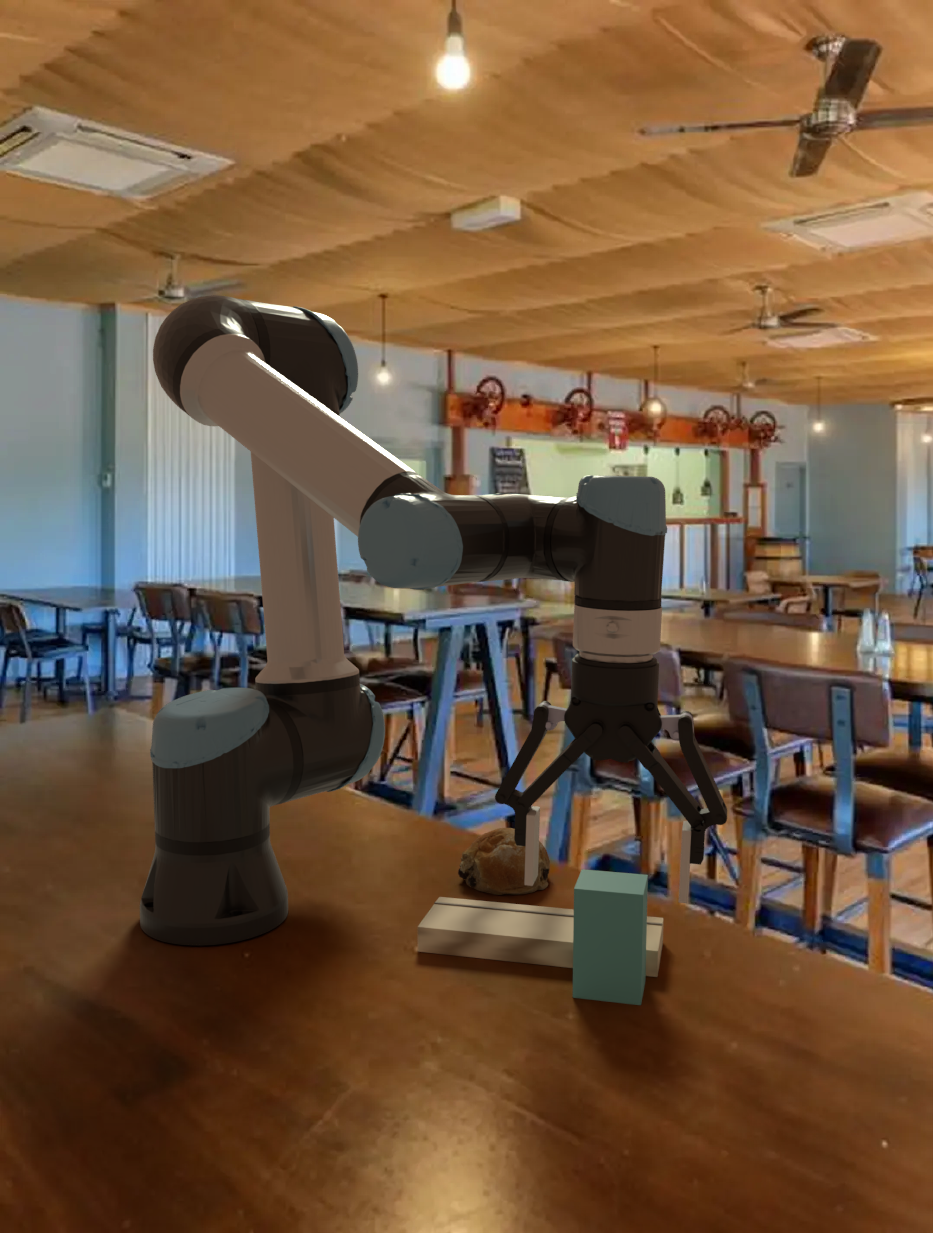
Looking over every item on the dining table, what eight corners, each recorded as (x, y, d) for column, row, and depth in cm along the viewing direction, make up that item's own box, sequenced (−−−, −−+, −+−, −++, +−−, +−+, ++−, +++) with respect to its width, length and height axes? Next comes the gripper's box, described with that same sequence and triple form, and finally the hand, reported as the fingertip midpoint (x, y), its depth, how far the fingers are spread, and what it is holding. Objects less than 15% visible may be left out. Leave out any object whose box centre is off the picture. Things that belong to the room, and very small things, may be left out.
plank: (417, 951, 105) (417, 925, 105) (439, 919, 113) (439, 895, 112) (657, 976, 99) (657, 949, 99) (662, 941, 107) (663, 916, 107)
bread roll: (526, 931, 119) (557, 869, 117) (443, 886, 120) (474, 825, 119) (538, 898, 129) (567, 841, 127) (461, 857, 130) (489, 800, 128)
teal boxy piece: (572, 997, 96) (574, 888, 94) (591, 938, 108) (592, 841, 107) (640, 1005, 94) (643, 894, 93) (651, 944, 107) (654, 846, 106)
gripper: (465, 652, 93) (460, 888, 96) (765, 671, 87) (750, 921, 90) (485, 639, 100) (479, 859, 103) (763, 656, 94) (749, 888, 97)
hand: (606, 888), depth 97 cm, fingers open, 13 cm apart
